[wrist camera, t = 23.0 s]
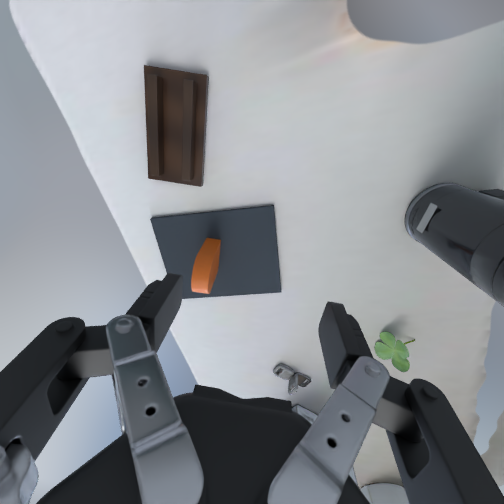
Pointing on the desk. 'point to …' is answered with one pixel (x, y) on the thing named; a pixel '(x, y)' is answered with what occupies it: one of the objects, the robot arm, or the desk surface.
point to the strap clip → (291, 378)
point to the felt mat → (223, 249)
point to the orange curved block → (206, 266)
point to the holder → (175, 124)
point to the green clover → (393, 351)
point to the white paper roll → (385, 494)
